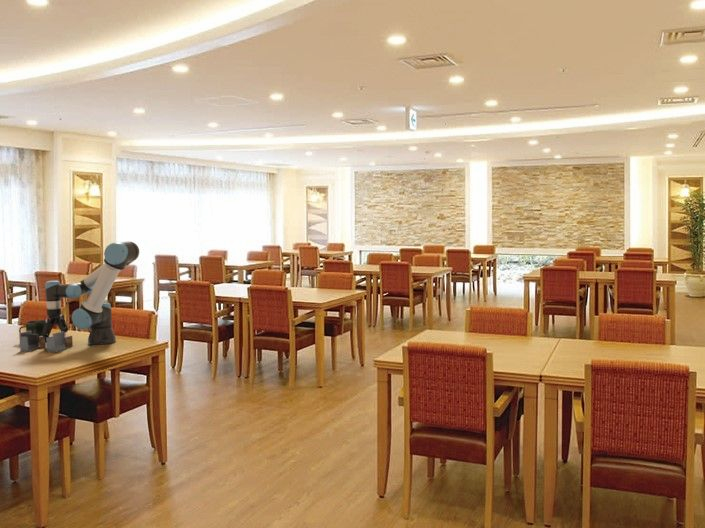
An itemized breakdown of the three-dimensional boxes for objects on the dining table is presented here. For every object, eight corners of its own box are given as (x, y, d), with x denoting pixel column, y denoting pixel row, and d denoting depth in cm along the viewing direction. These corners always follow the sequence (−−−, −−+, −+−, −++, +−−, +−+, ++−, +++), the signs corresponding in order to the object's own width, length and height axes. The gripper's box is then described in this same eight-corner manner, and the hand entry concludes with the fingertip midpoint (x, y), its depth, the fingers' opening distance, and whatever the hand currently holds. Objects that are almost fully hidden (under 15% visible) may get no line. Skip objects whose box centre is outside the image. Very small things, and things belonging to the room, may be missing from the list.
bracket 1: (38, 348, 386) (37, 330, 385) (28, 351, 378) (27, 333, 377) (31, 348, 387) (30, 330, 386) (20, 351, 379) (19, 333, 378)
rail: (72, 346, 391) (72, 335, 391) (66, 348, 386) (66, 337, 386) (45, 345, 396) (45, 335, 395) (39, 347, 391) (38, 336, 390)
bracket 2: (65, 349, 382) (64, 331, 381) (55, 352, 374) (54, 334, 373) (57, 348, 383) (56, 331, 382) (47, 352, 375) (46, 333, 374)
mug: (47, 342, 403) (46, 322, 402) (19, 345, 397) (18, 324, 396) (47, 339, 413) (46, 319, 412) (20, 342, 407) (18, 321, 406)
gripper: (62, 305, 402) (64, 341, 404) (33, 311, 378) (35, 350, 380) (73, 305, 400) (75, 341, 402) (44, 311, 376) (47, 350, 378)
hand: (55, 345), depth 391 cm, fingers open, 12 cm apart
